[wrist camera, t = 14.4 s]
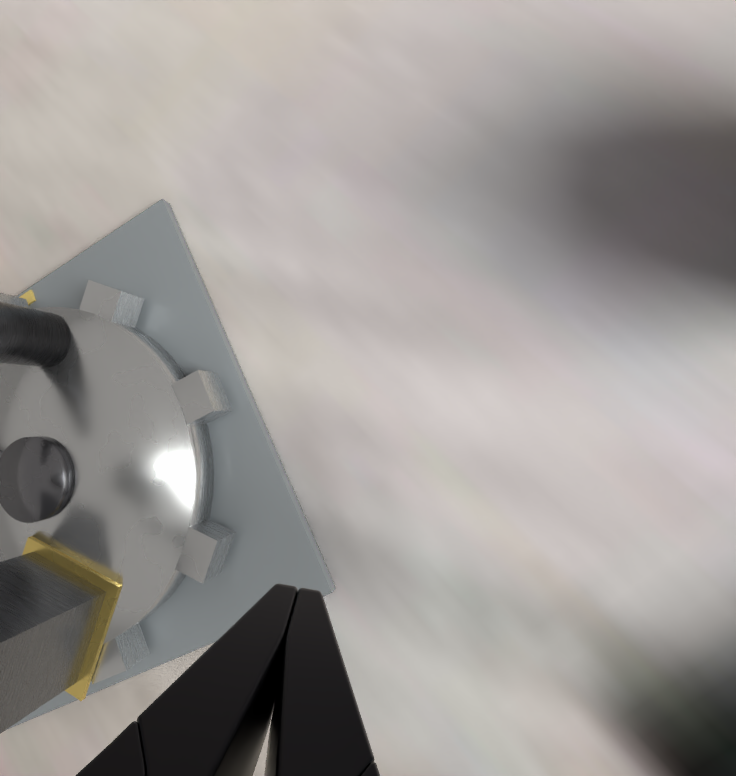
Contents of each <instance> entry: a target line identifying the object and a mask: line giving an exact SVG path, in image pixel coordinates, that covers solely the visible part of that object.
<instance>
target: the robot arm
mask: <svg viewBox="0 0 736 776" xmlns="http://www.w3.org/2000/svg"><path fill="white" fill-rule="evenodd" d="M272 713H273V714H272ZM271 716H272V720H271ZM270 720H271V726H270V734H269V741H268V749H267V758H266V767H265V776H380V774H379V771H378V768H377V765H376V763H375V762H374V756H373V753H372V750H371V747H370V743H369V740H368V737H367V734H366V731H365V728H364V725H363V721H362V718H361V715H360V712H359V709H358V706H357V703H356V699H355V696H354V693H353V690H352V687H351V684H350V681H349V677H348V674H347V671H346V668H345V665H344V662H343V659H342V655H341V652H340V649H339V646H338V643H337V640H336V637H335V633H334V630H333V627H332V624H331V621H330V618H329V615H328V611H327V608H326V605H325V602H324V599H323V596H322V593H321V592H320V591H318V590H313V589H308V588H300V589H299V590H298V589H297V587H295V586H291V585H285V584H280V583H278V584H275V585H274V586H273V587H272V588H271V589H270V590H269V591H268V592H267V593H266V594H265V595H264V596H263V597H261V598H260V599H259V600H258V601H257V602H256V603H255V604H254V605H253V606H252V607H251V608H250V609H249V610H248V611H247V612H246V613H245V614H244V615H243V616H242V617H241V618H240V619H239V620H238V621H237V622H236V623H235V624H234V625H233V626H232V627H231V628H229V629H228V630H227V631H226V632H225V633H224V634H223V635H222V636H221V637H220V638H219V639H218V640H217V641H216V642H215V643H214V644H213V645H212V646H211V647H210V648H209V649H208V650H207V651H206V652H205V653H204V654H203V655H202V656H201V657H200V658H199V659H197V660H196V661H195V662H194V663H193V664H192V665H191V666H190V667H189V668H188V669H187V670H186V671H185V672H184V673H183V674H182V675H181V676H180V677H179V678H178V679H177V680H176V681H175V682H174V683H173V684H172V685H171V686H170V687H169V688H168V689H167V690H165V691H164V692H163V693H162V694H161V695H160V696H159V697H158V698H157V699H156V700H155V701H154V702H153V703H152V704H151V705H150V706H149V707H148V708H147V709H146V710H145V711H144V712H143V713H142V714H141V715H140V716H139V717H138V718H137V722H136V721H134V722H132V723H131V724H130V725H129V726H128V727H127V728H126V729H125V730H124V731H123V732H122V733H121V734H120V735H119V736H118V737H117V738H116V739H115V740H114V741H113V742H112V743H111V744H109V745H108V746H107V747H106V748H105V749H104V750H103V751H102V752H101V753H100V754H99V755H98V756H96V757H95V758H94V759H93V760H92V761H91V762H90V763H89V764H88V765H87V766H86V767H84V768H83V769H82V770H81V771H80V772H79V773H78V774H77V775H76V776H252V775H253V773H254V770H255V767H256V764H257V761H258V758H259V755H260V752H261V749H262V746H263V743H264V740H265V737H266V734H267V731H268V727H269V724H270Z"/></svg>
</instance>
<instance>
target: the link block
mask: <svg viewBox="0 0 736 776" xmlns="http://www.w3.org/2000/svg"><path fill="white" fill-rule="evenodd" d="M105 595H106V591H104V590H102V589H101V588H99V587H97V586H95V585H93V584H92V583H90V582H88V581H86V580H84V579H83V578H81V577H79V576H77V575H75V574H74V573H72V572H70V571H68V570H66V569H65V568H63V567H61V566H59V565H57V564H56V563H54V562H52V561H50V560H48V559H47V558H45V557H43V556H41V555H39V554H38V553H36V552H31V553H27V554H24V555H21V556H18V557H15V558H11V559H8V560H5V561H2V562H0V733H2V732H3V731H5V730H6V729H8V728H9V727H11V726H12V725H14V724H15V723H17V722H18V721H20V720H21V719H23V718H24V717H26V716H27V715H29V714H30V713H32V712H33V711H35V710H36V709H38V708H39V707H41V706H42V705H44V704H45V703H47V702H48V701H50V700H51V699H53V698H54V697H56V696H57V695H59V694H60V693H62V692H63V691H65V690H66V689H68V688H69V687H71V686H72V685H74V684H75V683H77V680H78V677H79V674H80V671H81V668H82V665H83V662H84V659H85V656H86V653H87V650H88V647H89V644H90V641H91V638H92V635H93V632H94V629H95V625H96V622H97V619H98V616H99V613H100V610H101V607H102V604H103V601H104V598H105Z"/></svg>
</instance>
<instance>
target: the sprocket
mask: <svg viewBox="0 0 736 776" xmlns="http://www.w3.org/2000/svg"><path fill="white" fill-rule="evenodd" d="M143 302H144V299H143V298H140V297H138V296H135V295H132V294H129V293H126V292H123V291H121V290H118V289H115V288H112V287H109V286H106V285H103V284H100V283H97V282H94V281H91V280H88V283H87V286H86V289H85V293H84V296H83V299H82V302H81V305H80V308H79V309H73V308H65V307H40V308H35V309H31V308H29V306H28V303H27V300H26V299H24V298H20V297H16V296H12V295H7V294H3V293H0V562H2V561H5V560H8V559H11V558H15V557H18V556H21V555H24V554H27V553H31V552H36V553H38V554H39V555H41V556H43V557H45V558H47V559H48V560H50V561H52V562H54V563H56V564H57V565H59V566H61V567H63V568H65V569H66V570H68V571H70V572H72V573H74V574H75V575H77V576H79V577H81V578H83V579H84V580H86V581H88V582H90V583H92V584H93V585H95V586H97V587H99V588H101V589H102V590H104V591H106V595H105V598H104V601H103V604H102V607H101V610H100V613H99V616H98V619H97V622H96V625H95V629H94V632H93V635H92V638H91V641H90V644H89V647H88V650H87V653H86V656H85V659H84V662H83V665H82V668H81V671H80V674H79V677H78V680H77V683H75V684H74V685H72V686H71V687H69V688H68V689H66V690H65V691H66V692H67V693H69V694H71V695H72V696H74V697H75V698H77V699H78V700H80V701H82V700H83V699H85V697H86V694H87V691H88V688H89V685H90V682H92V684H95V683H97V682H100V681H102V680H105V679H107V678H109V677H112V676H114V675H117V674H119V673H122V672H124V671H127V670H128V669H129V668H131V667H132V666H133V665H135V664H136V663H138V662H139V661H140V660H142V659H143V658H144V657H146V656H147V655H149V654H150V651H149V648H148V645H147V642H146V640H145V637H144V634H143V631H142V628H141V625H140V622H142V621H143V620H144V619H146V618H147V617H148V616H150V615H151V614H152V613H154V612H155V611H157V610H158V609H159V608H160V607H161V606H162V605H163V604H164V603H165V602H166V601H167V600H168V599H169V598H170V597H171V596H172V595H173V593H174V592H175V591H176V589H177V588H178V587H179V585H180V584H181V583H182V581H183V580H184V579H185V577H186V575H187V576H189V577H191V578H193V579H194V580H196V581H198V582H200V583H202V584H203V583H205V582H206V581H208V580H210V579H211V578H213V577H214V576H216V575H218V574H219V573H221V572H222V571H223V568H224V565H225V562H226V559H227V556H228V553H229V550H230V547H231V545H232V542H233V539H234V536H235V533H236V532H235V531H233V530H231V529H229V528H227V527H225V526H223V525H221V524H218V523H216V522H214V521H212V520H210V514H211V507H212V501H213V494H214V462H213V449H212V444H211V439H210V434H209V429H208V425H207V424H208V423H209V422H211V421H213V420H215V419H217V418H219V417H221V416H223V415H225V414H227V413H229V412H231V411H233V410H232V408H231V405H230V403H229V400H228V398H227V395H226V393H225V390H224V388H223V386H222V383H221V381H220V378H219V376H218V373H217V372H210V371H202V370H197V371H195V372H193V373H191V374H189V375H188V376H186V375H185V374H184V372H183V370H182V369H181V367H180V366H179V365H178V364H177V363H176V361H175V360H174V359H173V358H172V357H171V355H170V354H169V353H168V352H167V351H166V350H165V349H164V348H163V347H162V346H161V345H159V344H158V343H157V342H156V341H155V340H154V339H153V338H151V337H150V336H148V335H147V334H145V333H144V332H142V331H141V330H139V329H138V328H136V327H135V326H136V323H137V320H138V317H139V314H140V311H141V308H142V305H143Z"/></svg>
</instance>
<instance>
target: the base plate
mask: <svg viewBox="0 0 736 776" xmlns="http://www.w3.org/2000/svg"><path fill="white" fill-rule="evenodd" d="M88 280H91V281H94V282H97V283H100V284H103V285H106V286H109V287H112V288H115V289H118V290H121V291H123V292H126V293H129V294H132V295H135V296H138V297H140V298H143V299H144V302H143V305H142V308H141V311H140V314H139V317H138V320H137V323H136V326H135V327H136V328H138V329H139V330H141V331H142V332H144V333H145V334H147V335H148V336H150V337H151V338H153V339H154V340H155V341H156V342H157V343H158V344H159V345H161V346H162V347H163V348H164V349H165V350H166V351H167V352H168V353H169V354H170V355H171V357H172V358H173V359H174V360H175V361H176V363H177V364H178V365H179V366H180V367H181V369H182V370H183V372H184V374H185V375H186V376H188V375H189V374H191V373H193V372H195V371H197V370H202V371H210V372H217V373H218V376H219V378H220V381H221V383H222V386H223V388H224V390H225V393H226V395H227V398H228V400H229V403H230V405H231V408H232V410H233V411H231V412H229V413H227V414H225V415H223V416H221V417H219V418H217V419H215V420H213V421H211V422H209V423H208V424H207V425H208V429H209V434H210V439H211V444H212V449H213V462H214V494H213V501H212V507H211V514H210V520H212V521H214V522H216V523H218V524H221V525H223V526H225V527H227V528H229V529H231V530H233V531H235V532H236V533H235V536H234V539H233V542H232V545H231V547H230V550H229V553H228V556H227V559H226V562H225V565H224V568H223V571H222V572H221V573H219V574H218V575H216V576H214V577H213V578H211V579H210V580H208V581H206V582H205V583H203V584H202V583H200V582H198V581H196V580H194V579H193V578H191V577H189V576H187V575H186V577H185V579H184V580H183V581H182V583H181V584H180V585H179V587H178V588H177V589H176V591H175V592H174V593H173V595H172V596H171V597H170V598H169V599H168V600H167V601H166V602H165V603H164V604H163V605H162V606H161V607H160V608H159V609H158V610H157V611H155V612H154V613H152V614H151V615H150V616H148V617H147V618H146V619H144V620H143V621H142V622H140V625H141V628H142V631H143V634H144V637H145V640H146V642H147V645H148V648H149V651H150V654H149V655H147V656H146V657H144V658H143V659H142V660H140V661H139V662H138V663H136V664H135V665H133V666H132V667H131V668H129V669H128V670H127V671H124V672H122V673H119V674H117V675H114V676H112V677H109V678H107V679H105V680H102V681H100V682H97V683H95V684H92V682H90V685H89V688H88V691H87V694H86V696H88V695H90V694H92V693H95V692H97V691H99V690H102V689H104V688H107V687H109V686H111V685H114V684H116V683H118V682H121V681H123V680H126V679H128V678H130V677H133V676H135V675H137V674H140V673H142V672H145V671H147V670H149V669H152V668H154V667H156V666H159V665H161V664H164V663H166V662H168V661H171V660H173V659H175V658H178V657H180V656H183V655H185V654H187V653H190V652H192V651H194V650H197V649H199V648H202V647H204V646H206V645H209V644H211V643H213V642H216V641H217V640H218V639H219V638H220V637H221V636H222V635H223V634H224V633H225V632H226V631H227V630H228V629H229V628H231V627H232V626H233V625H234V624H235V623H236V622H237V621H238V620H239V619H240V618H241V617H242V616H243V615H244V614H245V613H246V612H247V611H248V610H249V609H250V608H251V607H252V606H253V605H254V604H255V603H256V602H257V601H258V600H259V599H260V598H261V597H263V596H264V595H265V594H266V593H267V592H268V591H269V590H270V589H271V588H272V587H273V586H274V585H275V584H278V583H280V584H285V585H291V586H295V587H297V589H298V590H299V589H300V588H308V589H313V590H318V591H320V592H321V593H322V596H325V595H327V594H330V593H332V592H333V591H334V590H335V588H336V587H335V585H334V583H333V580H332V578H331V576H330V574H329V571H328V569H327V567H326V564H325V562H324V560H323V557H322V555H321V553H320V550H319V548H318V546H317V543H316V541H315V539H314V537H313V534H312V532H311V530H310V527H309V525H308V523H307V520H306V518H305V516H304V513H303V511H302V509H301V507H300V504H299V502H298V500H297V497H296V495H295V493H294V490H293V488H292V486H291V483H290V481H289V479H288V476H287V474H286V472H285V470H284V467H283V465H282V463H281V460H280V458H279V456H278V453H277V451H276V449H275V446H274V444H273V442H272V439H271V437H270V435H269V433H268V430H267V428H266V426H265V423H264V421H263V419H262V416H261V414H260V412H259V409H258V407H257V405H256V402H255V400H254V398H253V396H252V393H251V391H250V389H249V386H248V384H247V382H246V379H245V377H244V375H243V372H242V370H241V368H240V365H239V363H238V361H237V359H236V356H235V354H234V352H233V349H232V347H231V345H230V342H229V340H228V338H227V335H226V333H225V331H224V328H223V326H222V324H221V322H220V319H219V317H218V315H217V312H216V310H215V308H214V305H213V303H212V301H211V298H210V296H209V294H208V291H207V289H206V287H205V285H204V282H203V280H202V278H201V275H200V273H199V271H198V268H197V266H196V264H195V261H194V259H193V257H192V254H191V252H190V250H189V248H188V245H187V243H186V241H185V238H184V236H183V234H182V231H181V229H180V227H179V224H178V222H177V220H176V217H175V215H174V213H173V211H172V208H171V206H170V204H169V203H168V202H166V201H165V200H163V199H161V200H160V201H158V202H157V203H155V204H154V205H152V206H151V207H149V208H148V209H146V210H145V211H143V212H142V213H140V214H139V215H137V216H136V217H134V218H133V219H131V220H130V221H128V222H127V223H125V224H124V225H122V226H121V227H119V228H118V229H116V230H115V231H113V232H112V233H110V234H109V235H108V236H106V237H105V238H103V239H102V240H100V241H99V242H97V243H96V244H94V245H93V246H91V247H90V248H88V249H87V250H85V251H84V252H82V253H81V254H79V255H78V256H76V257H75V258H73V259H72V260H70V261H69V262H67V263H66V264H64V265H63V266H61V267H60V268H58V269H57V270H55V271H54V272H52V273H51V274H49V275H48V276H46V277H45V278H43V279H42V280H40V281H39V282H37V283H36V284H34V285H33V286H31V287H30V288H28V289H27V290H25V291H24V292H22V293H21V294H19V295H18V296H16V297H20V298H24V299H26V300H27V303H28V306H29V308H31V309H35V308H40V307H65V308H73V309H79V308H80V305H81V302H82V299H83V296H84V293H85V289H86V286H87V283H88ZM76 700H78V699H77V698H75V697H74V696H72V695H71V694H69V693H67V692H66V691H63V692H62V693H60V694H59V695H57V696H56V697H54V698H53V699H51V700H50V701H48V702H47V703H45V704H44V705H42V706H41V707H39V708H38V709H36V710H35V711H33V712H32V713H30V714H29V715H27V716H26V717H24V718H23V719H21V720H20V721H18V722H17V723H15V724H14V725H12V726H11V727H14V726H16V725H19V724H21V723H23V722H26V721H28V720H30V719H33V718H35V717H38V716H40V715H42V714H45V713H47V712H49V711H52V710H54V709H57V708H59V707H61V706H64V705H66V704H68V703H71V702H73V701H76ZM11 727H9V728H11ZM9 728H8V729H9ZM6 730H7V729H6Z"/></svg>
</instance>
